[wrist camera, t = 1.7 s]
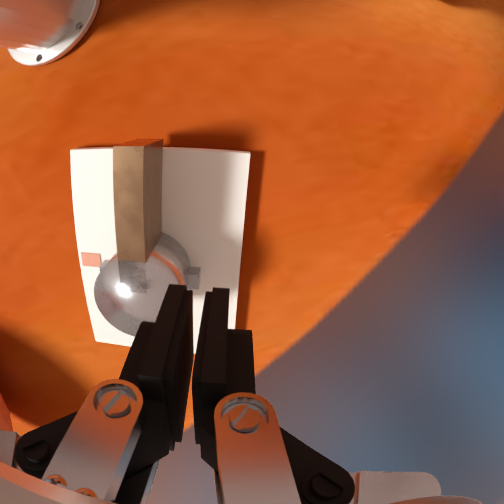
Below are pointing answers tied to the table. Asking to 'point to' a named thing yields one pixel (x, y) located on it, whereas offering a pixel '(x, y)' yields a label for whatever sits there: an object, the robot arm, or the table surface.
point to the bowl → (4, 416)
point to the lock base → (167, 221)
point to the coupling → (140, 242)
